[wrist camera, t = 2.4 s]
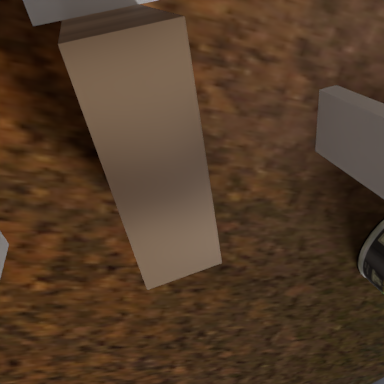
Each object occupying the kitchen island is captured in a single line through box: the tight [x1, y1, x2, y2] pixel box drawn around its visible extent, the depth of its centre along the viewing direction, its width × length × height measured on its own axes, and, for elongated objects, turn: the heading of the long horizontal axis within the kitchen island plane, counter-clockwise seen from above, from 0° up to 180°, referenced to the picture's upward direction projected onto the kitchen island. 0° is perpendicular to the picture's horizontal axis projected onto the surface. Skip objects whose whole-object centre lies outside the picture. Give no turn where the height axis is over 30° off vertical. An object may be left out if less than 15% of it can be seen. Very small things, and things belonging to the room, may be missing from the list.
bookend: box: [23, 0, 222, 290], centre depth 13 cm, size 17×6×8 cm, turn 9°
